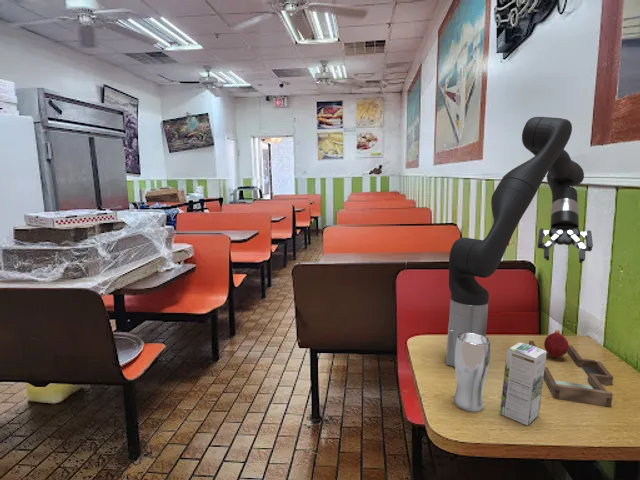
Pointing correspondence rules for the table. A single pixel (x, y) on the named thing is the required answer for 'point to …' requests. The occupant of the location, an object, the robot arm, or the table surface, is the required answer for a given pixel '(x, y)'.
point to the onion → (556, 344)
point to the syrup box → (523, 383)
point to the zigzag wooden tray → (579, 391)
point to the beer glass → (471, 370)
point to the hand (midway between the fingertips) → (564, 260)
